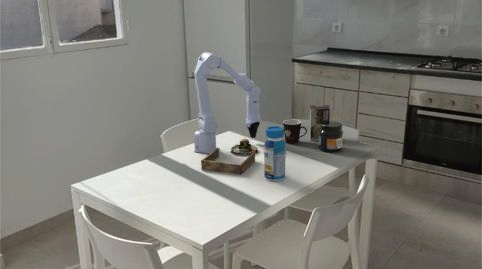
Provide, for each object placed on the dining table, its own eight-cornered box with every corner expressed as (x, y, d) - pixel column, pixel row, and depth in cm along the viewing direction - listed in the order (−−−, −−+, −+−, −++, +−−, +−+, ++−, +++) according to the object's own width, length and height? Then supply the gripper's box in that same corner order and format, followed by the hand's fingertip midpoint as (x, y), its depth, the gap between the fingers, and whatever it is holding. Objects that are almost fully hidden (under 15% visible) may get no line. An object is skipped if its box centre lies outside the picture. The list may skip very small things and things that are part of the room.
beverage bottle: (284, 182, 174) (284, 132, 168) (262, 181, 175) (262, 131, 169) (286, 173, 182) (287, 125, 175) (265, 172, 183) (265, 124, 177)
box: (201, 169, 188) (201, 160, 187) (217, 156, 202) (217, 148, 200) (241, 174, 181) (241, 165, 180) (255, 161, 195) (255, 152, 194)
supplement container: (344, 153, 203) (345, 127, 199) (320, 153, 203) (321, 127, 199) (339, 145, 213) (341, 120, 209) (317, 145, 213) (317, 120, 209)
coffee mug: (279, 141, 220) (279, 121, 217) (294, 138, 224) (295, 118, 221) (292, 148, 210) (292, 127, 207) (308, 145, 214) (308, 124, 211)
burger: (226, 154, 205) (225, 138, 203) (238, 146, 215) (238, 131, 213) (250, 158, 200) (250, 142, 198) (261, 149, 210) (261, 134, 207)
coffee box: (328, 136, 225) (329, 104, 220) (329, 141, 219) (330, 108, 214) (309, 136, 226) (310, 104, 221) (309, 140, 220) (310, 108, 215)
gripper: (255, 114, 205) (255, 143, 209) (265, 106, 218) (266, 133, 222) (240, 113, 207) (241, 141, 212) (252, 105, 220) (252, 132, 224)
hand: (253, 137), depth 217 cm, fingers closed
